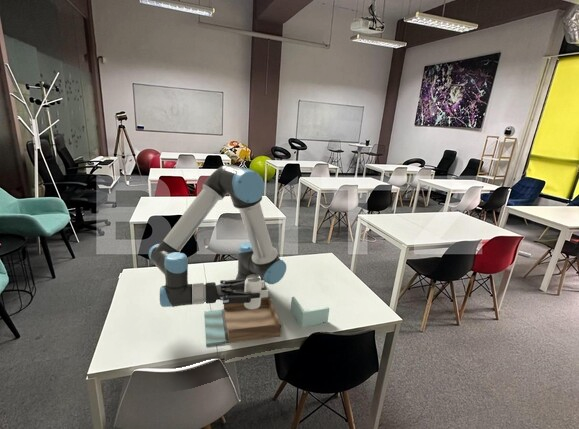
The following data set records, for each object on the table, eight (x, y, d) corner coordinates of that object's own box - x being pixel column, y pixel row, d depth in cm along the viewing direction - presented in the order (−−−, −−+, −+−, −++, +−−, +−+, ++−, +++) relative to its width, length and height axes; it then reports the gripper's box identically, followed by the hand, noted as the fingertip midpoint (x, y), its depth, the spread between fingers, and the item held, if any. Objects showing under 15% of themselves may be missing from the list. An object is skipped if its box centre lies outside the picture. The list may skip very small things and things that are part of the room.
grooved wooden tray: (204, 313, 134) (204, 303, 133) (269, 306, 142) (270, 297, 141) (206, 345, 116) (206, 334, 115) (280, 336, 124) (281, 325, 123)
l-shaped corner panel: (327, 323, 135) (329, 308, 133) (301, 328, 131) (303, 312, 128) (314, 307, 146) (316, 293, 143) (290, 311, 141) (291, 297, 139)
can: (245, 300, 129) (246, 273, 125) (261, 301, 129) (262, 274, 125) (242, 309, 122) (243, 281, 119) (259, 310, 122) (261, 282, 119)
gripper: (204, 288, 128) (260, 284, 135) (205, 317, 111) (270, 311, 117) (204, 271, 126) (261, 268, 133) (205, 298, 108) (272, 293, 115)
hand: (265, 288), depth 125 cm, fingers closed on can, 6 cm apart
